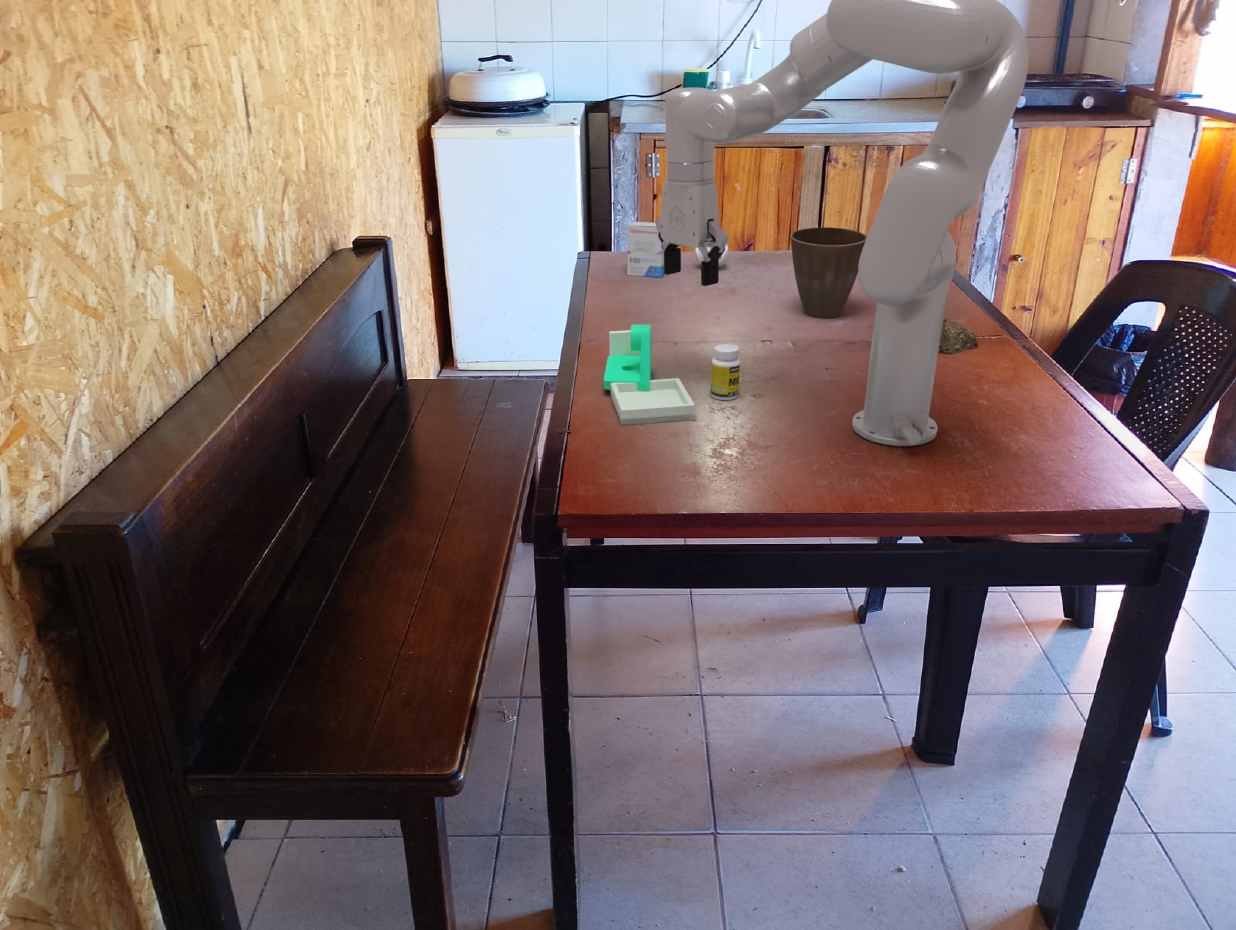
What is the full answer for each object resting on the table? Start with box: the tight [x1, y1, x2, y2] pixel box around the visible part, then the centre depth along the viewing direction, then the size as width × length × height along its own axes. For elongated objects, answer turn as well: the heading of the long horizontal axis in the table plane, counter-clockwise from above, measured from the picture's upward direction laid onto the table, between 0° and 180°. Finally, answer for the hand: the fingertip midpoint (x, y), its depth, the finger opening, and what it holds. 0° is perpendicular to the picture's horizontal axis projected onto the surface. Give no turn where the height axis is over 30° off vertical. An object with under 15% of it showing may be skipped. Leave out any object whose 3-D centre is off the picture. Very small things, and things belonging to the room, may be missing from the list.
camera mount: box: [603, 324, 652, 391], centre depth 164 cm, size 12×8×10 cm, turn 177°
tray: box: [610, 377, 696, 426], centre depth 156 cm, size 12×12×2 cm
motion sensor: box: [694, 243, 729, 268], centre depth 230 cm, size 8×8×8 cm
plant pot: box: [790, 227, 868, 319], centre depth 196 cm, size 15×15×16 cm
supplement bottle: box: [709, 343, 741, 401], centre depth 159 cm, size 5×5×8 cm
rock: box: [938, 318, 979, 355], centre depth 182 cm, size 13×12×5 cm
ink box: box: [626, 221, 665, 278], centre depth 225 cm, size 9×5×12 cm, turn 72°
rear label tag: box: [608, 329, 641, 356], centre depth 171 cm, size 1×6×7 cm, turn 99°
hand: (690, 278), depth 160 cm, fingers open, 9 cm apart
